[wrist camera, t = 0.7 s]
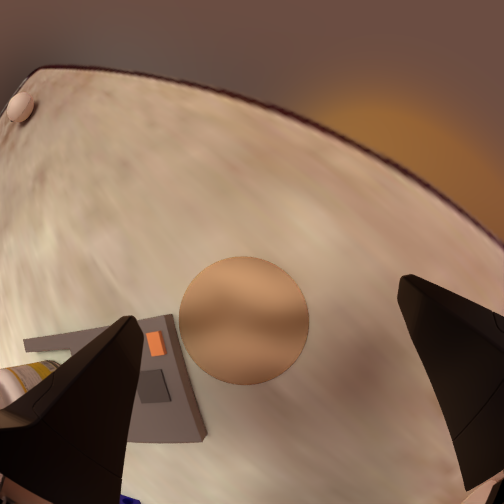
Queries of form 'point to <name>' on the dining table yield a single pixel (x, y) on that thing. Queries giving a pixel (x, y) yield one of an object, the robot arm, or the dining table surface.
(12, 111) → the plastic egg
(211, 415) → the dining table surface
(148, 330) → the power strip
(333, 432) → the dining table surface
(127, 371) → the robot arm
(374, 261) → the dining table surface
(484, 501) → the cylinder with rectangular tab
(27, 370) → the pill bottle
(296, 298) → the cork coaster
